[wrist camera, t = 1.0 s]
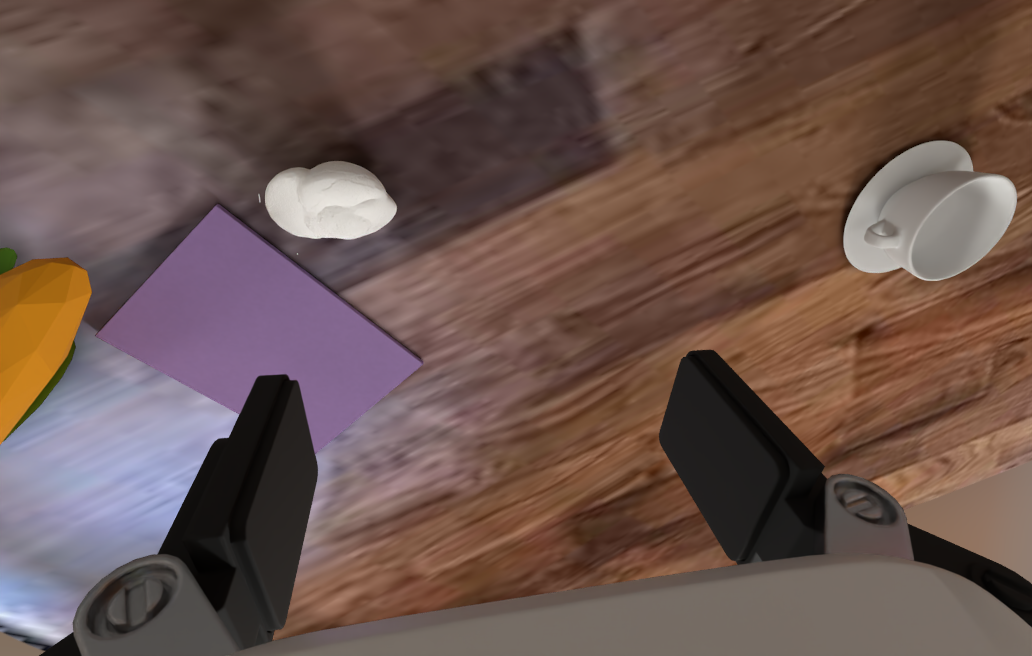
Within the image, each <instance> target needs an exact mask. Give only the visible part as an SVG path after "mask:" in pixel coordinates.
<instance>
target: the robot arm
mask: <svg viewBox="0 0 1032 656" xmlns="http://www.w3.org/2000/svg"><path fill="white" fill-rule="evenodd" d="M659 440H660V444H661V446H662V448H663V450H664V451H665V453H666V455H667V456H668V458H669V460H670V461H671V463H672V465H673V466H674V468H675V470H676V471H677V473H678V475H679V476H680V478H681V480H682V481H683V483H684V485H685V486H686V488H687V490H688V491H689V493H690V495H691V496H692V498H693V500H694V501H695V503H696V505H697V506H698V508H699V510H700V511H701V513H702V515H703V516H704V518H705V520H706V521H707V523H708V525H709V526H710V528H711V530H712V531H713V533H714V535H715V536H716V538H717V540H718V541H719V543H720V545H721V546H722V548H723V550H724V551H725V553H726V555H727V556H728V557H729V558H730V559H731V560H733V561H736V563H737V564H738V565H734V566H728V567H721V568H714V569H707V570H700V571H693V572H687V573H680V574H673V575H666V576H659V577H652V578H646V579H639V580H633V581H626V582H619V583H613V584H606V585H600V586H593V587H586V588H580V589H573V590H567V591H560V592H554V593H547V594H541V595H534V596H528V597H521V598H515V599H508V600H502V601H496V602H489V603H483V604H477V605H470V606H464V607H458V608H451V609H445V610H439V611H432V612H426V613H420V614H413V615H407V616H401V617H395V618H389V619H384V620H378V621H372V622H366V623H361V624H355V625H349V626H344V627H338V628H332V629H326V630H321V631H315V632H311V633H306V634H302V635H297V636H293V637H288V638H284V639H279V640H275V641H272V639H273V635H274V631H275V630H278V629H282V628H283V627H284V625H285V622H286V618H287V614H288V609H289V605H290V600H291V596H292V591H293V587H294V582H295V578H296V573H297V569H298V564H299V560H300V555H301V550H302V546H303V541H304V537H305V532H306V528H307V523H308V519H309V514H310V510H311V505H312V501H313V496H314V492H315V487H316V482H317V476H318V466H317V460H316V456H315V452H314V447H313V443H312V439H311V434H310V430H309V425H308V421H307V417H306V412H305V408H304V403H303V399H302V395H301V390H300V386H299V382H298V381H297V380H290V378H289V376H288V375H287V374H278V375H260V376H258V377H257V378H256V380H255V382H254V384H253V387H252V389H251V391H250V393H249V395H248V397H247V400H246V402H245V404H244V406H243V408H242V410H241V413H240V415H239V417H238V419H237V421H236V423H235V426H234V428H233V430H232V432H231V434H230V436H229V438H221V439H217V440H216V441H215V442H214V443H213V445H212V446H211V448H210V450H209V452H208V454H207V456H206V458H205V460H204V462H203V464H202V466H201V468H200V470H199V472H198V474H197V476H196V478H195V480H194V482H193V484H192V486H191V488H190V490H189V492H188V494H187V496H186V498H185V500H184V502H183V504H182V506H181V508H180V510H179V512H178V514H177V516H176V518H175V520H174V522H173V524H172V526H171V528H170V530H169V532H168V534H167V536H166V538H165V540H164V542H163V544H162V546H161V548H160V550H159V552H158V554H157V555H149V556H146V557H142V558H139V559H135V560H133V561H131V562H129V563H127V564H125V565H123V566H121V567H119V568H117V569H116V570H114V571H113V572H111V573H110V574H109V575H107V576H106V577H104V578H103V579H102V580H101V581H100V582H99V583H98V584H97V585H95V586H94V587H93V588H92V589H91V590H90V591H89V592H88V594H87V595H86V596H85V598H84V599H83V601H82V602H81V604H80V605H79V607H78V608H77V611H76V614H75V617H74V620H73V633H71V634H70V635H68V636H67V637H65V638H64V639H62V640H61V641H60V642H58V643H57V644H55V645H54V646H52V647H51V648H49V649H48V650H47V651H45V652H44V653H43V654H41V655H39V656H1032V584H1031V583H1030V582H1029V581H1027V580H1026V579H1024V578H1023V577H1021V576H1020V575H1019V574H1017V573H1016V572H1014V571H1012V570H1010V569H1008V568H1006V567H1004V566H1002V565H1001V564H999V563H996V562H994V561H992V560H990V559H987V558H985V557H983V556H980V555H978V554H976V553H973V552H971V551H969V550H967V549H964V548H962V547H960V546H958V545H955V544H953V543H951V542H948V541H946V540H944V539H942V538H939V537H937V536H935V535H933V534H930V533H928V532H926V531H923V530H921V529H919V528H917V527H914V526H912V525H910V524H908V523H907V518H906V516H905V513H904V510H903V508H902V507H901V506H900V504H899V503H898V502H897V500H896V499H895V498H893V497H892V496H891V495H890V494H889V493H888V492H887V491H885V490H884V489H882V488H881V487H879V486H878V485H876V484H875V483H872V482H870V481H868V480H866V479H864V478H861V477H857V476H854V475H849V474H837V475H832V476H831V477H830V478H828V479H827V478H826V477H825V476H824V475H823V474H822V473H821V472H822V471H823V469H824V467H825V466H824V465H823V464H822V463H821V462H820V461H819V460H818V459H817V458H816V457H815V456H814V455H813V454H812V453H811V451H810V450H809V449H808V448H807V447H806V446H805V445H804V444H803V443H802V442H801V441H800V440H799V439H798V438H797V437H796V436H795V435H794V434H793V433H792V431H791V430H790V429H789V428H788V427H787V426H786V425H785V424H784V423H783V422H782V421H781V420H780V419H779V418H778V417H777V416H776V415H775V414H774V413H773V411H772V410H771V409H770V408H769V407H768V406H767V405H766V404H765V403H764V402H763V401H762V400H761V399H760V398H759V397H758V396H757V395H756V394H755V393H754V392H753V390H752V389H751V388H750V387H749V386H748V385H747V384H746V383H745V382H744V381H743V380H742V379H741V378H740V377H739V376H738V375H737V374H736V373H735V372H734V370H733V369H732V368H731V367H730V366H729V365H728V364H727V363H726V362H725V361H724V360H723V359H722V358H721V357H720V356H719V355H718V354H717V353H716V352H715V351H714V350H697V351H690V352H689V353H688V354H687V356H686V357H683V358H682V359H681V362H680V365H679V368H678V371H677V375H676V378H675V382H674V385H673V388H672V392H671V395H670V398H669V402H668V405H667V409H666V412H665V415H664V419H663V422H662V425H661V429H660V433H659Z"/></svg>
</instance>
